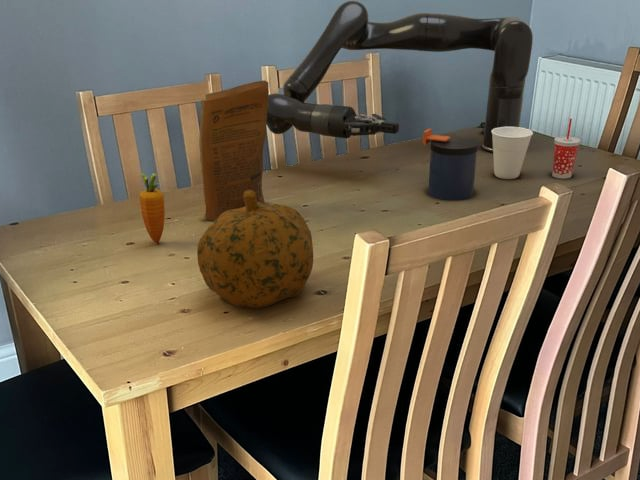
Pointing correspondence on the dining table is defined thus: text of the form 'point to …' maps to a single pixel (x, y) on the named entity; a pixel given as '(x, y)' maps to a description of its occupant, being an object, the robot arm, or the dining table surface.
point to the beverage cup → (564, 155)
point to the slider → (433, 137)
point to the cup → (509, 150)
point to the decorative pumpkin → (256, 253)
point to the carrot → (152, 208)
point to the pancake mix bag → (232, 146)
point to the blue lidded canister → (452, 168)
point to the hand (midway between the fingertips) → (397, 128)
